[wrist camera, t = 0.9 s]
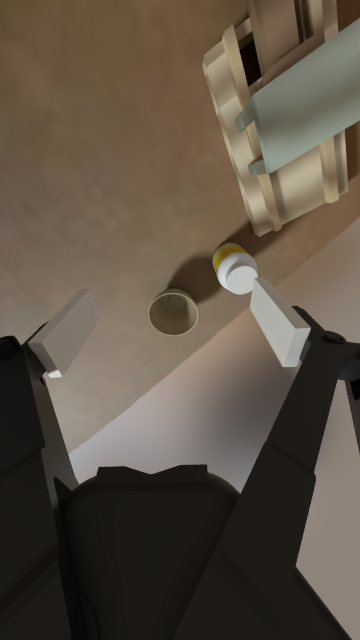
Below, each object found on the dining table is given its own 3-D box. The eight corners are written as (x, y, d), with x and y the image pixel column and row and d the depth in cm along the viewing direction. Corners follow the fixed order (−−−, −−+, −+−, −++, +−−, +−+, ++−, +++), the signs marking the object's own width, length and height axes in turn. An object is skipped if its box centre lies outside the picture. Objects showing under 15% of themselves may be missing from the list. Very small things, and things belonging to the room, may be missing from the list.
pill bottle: (207, 249, 39) (215, 269, 29) (239, 235, 37) (259, 251, 27) (217, 278, 42) (227, 305, 32) (247, 266, 40) (267, 290, 31)
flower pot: (205, 303, 45) (208, 320, 39) (171, 324, 49) (169, 343, 43) (178, 269, 41) (177, 283, 35) (143, 295, 44) (137, 312, 38)
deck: (202, 68, 26) (213, -5, 16) (315, -25, 22) (418, -193, 12) (254, 233, 37) (279, 249, 27) (335, 190, 33) (398, 191, 23)
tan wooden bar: (218, -74, 19) (228, -149, 15) (270, -127, 18) (297, -225, 13) (267, 143, 28) (282, 135, 23) (305, 119, 26) (328, 106, 22)
